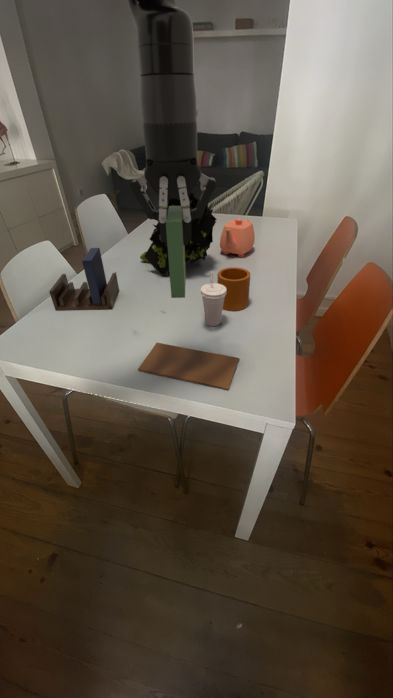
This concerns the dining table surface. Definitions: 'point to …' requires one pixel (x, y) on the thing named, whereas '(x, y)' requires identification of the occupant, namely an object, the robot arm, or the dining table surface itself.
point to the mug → (235, 287)
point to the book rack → (82, 295)
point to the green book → (176, 251)
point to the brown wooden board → (190, 365)
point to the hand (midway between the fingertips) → (176, 243)
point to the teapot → (237, 237)
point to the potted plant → (194, 248)
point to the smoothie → (213, 301)
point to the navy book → (95, 274)
